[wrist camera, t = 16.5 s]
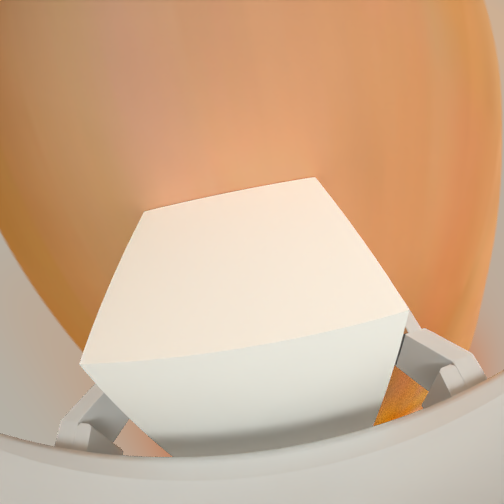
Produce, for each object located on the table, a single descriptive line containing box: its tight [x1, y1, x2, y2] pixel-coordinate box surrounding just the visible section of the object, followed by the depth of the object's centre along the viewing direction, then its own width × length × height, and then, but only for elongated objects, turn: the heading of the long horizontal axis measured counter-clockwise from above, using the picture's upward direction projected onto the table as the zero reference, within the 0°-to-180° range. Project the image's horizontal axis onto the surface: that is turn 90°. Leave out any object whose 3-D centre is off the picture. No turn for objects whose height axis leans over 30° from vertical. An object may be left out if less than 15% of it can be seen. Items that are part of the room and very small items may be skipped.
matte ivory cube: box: [79, 177, 409, 457], centre depth 11 cm, size 7×7×8 cm
